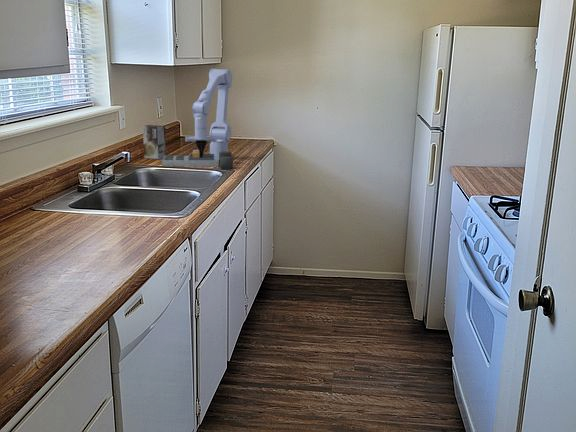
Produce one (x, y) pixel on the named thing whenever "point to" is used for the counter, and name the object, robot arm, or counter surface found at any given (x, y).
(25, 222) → the counter surface
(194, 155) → the toggle
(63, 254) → the counter surface
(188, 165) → the power strip
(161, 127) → the coffee box
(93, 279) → the counter surface
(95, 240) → the counter surface
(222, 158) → the pair of grey cylinders
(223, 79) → the robot arm
